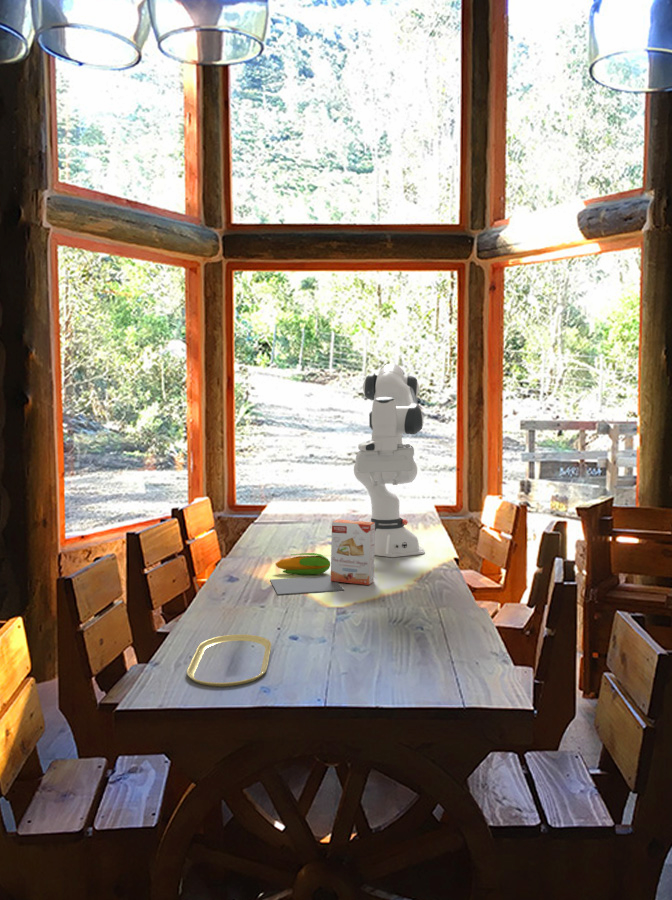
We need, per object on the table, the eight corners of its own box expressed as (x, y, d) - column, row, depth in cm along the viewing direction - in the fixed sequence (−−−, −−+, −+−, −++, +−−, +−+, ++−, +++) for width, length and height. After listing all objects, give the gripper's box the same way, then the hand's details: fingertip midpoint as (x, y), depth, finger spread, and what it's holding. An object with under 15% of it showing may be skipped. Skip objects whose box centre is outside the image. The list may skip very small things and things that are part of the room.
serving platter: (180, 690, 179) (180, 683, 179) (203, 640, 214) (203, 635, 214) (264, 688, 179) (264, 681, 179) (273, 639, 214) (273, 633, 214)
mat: (332, 576, 282) (332, 575, 282) (344, 590, 262) (344, 589, 262) (270, 580, 277) (270, 579, 277) (277, 595, 258) (277, 593, 258)
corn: (329, 554, 283) (273, 554, 284) (329, 576, 283) (273, 576, 284) (330, 551, 290) (276, 551, 292) (331, 572, 290) (276, 572, 292)
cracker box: (329, 581, 273) (331, 521, 271) (335, 578, 278) (336, 518, 277) (369, 585, 268) (370, 524, 267) (374, 581, 274) (375, 521, 272)
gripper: (411, 443, 277) (411, 482, 278) (353, 444, 273) (354, 485, 274) (416, 444, 271) (416, 485, 272) (358, 446, 267) (358, 487, 268)
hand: (384, 485), depth 273 cm, fingers open, 6 cm apart
